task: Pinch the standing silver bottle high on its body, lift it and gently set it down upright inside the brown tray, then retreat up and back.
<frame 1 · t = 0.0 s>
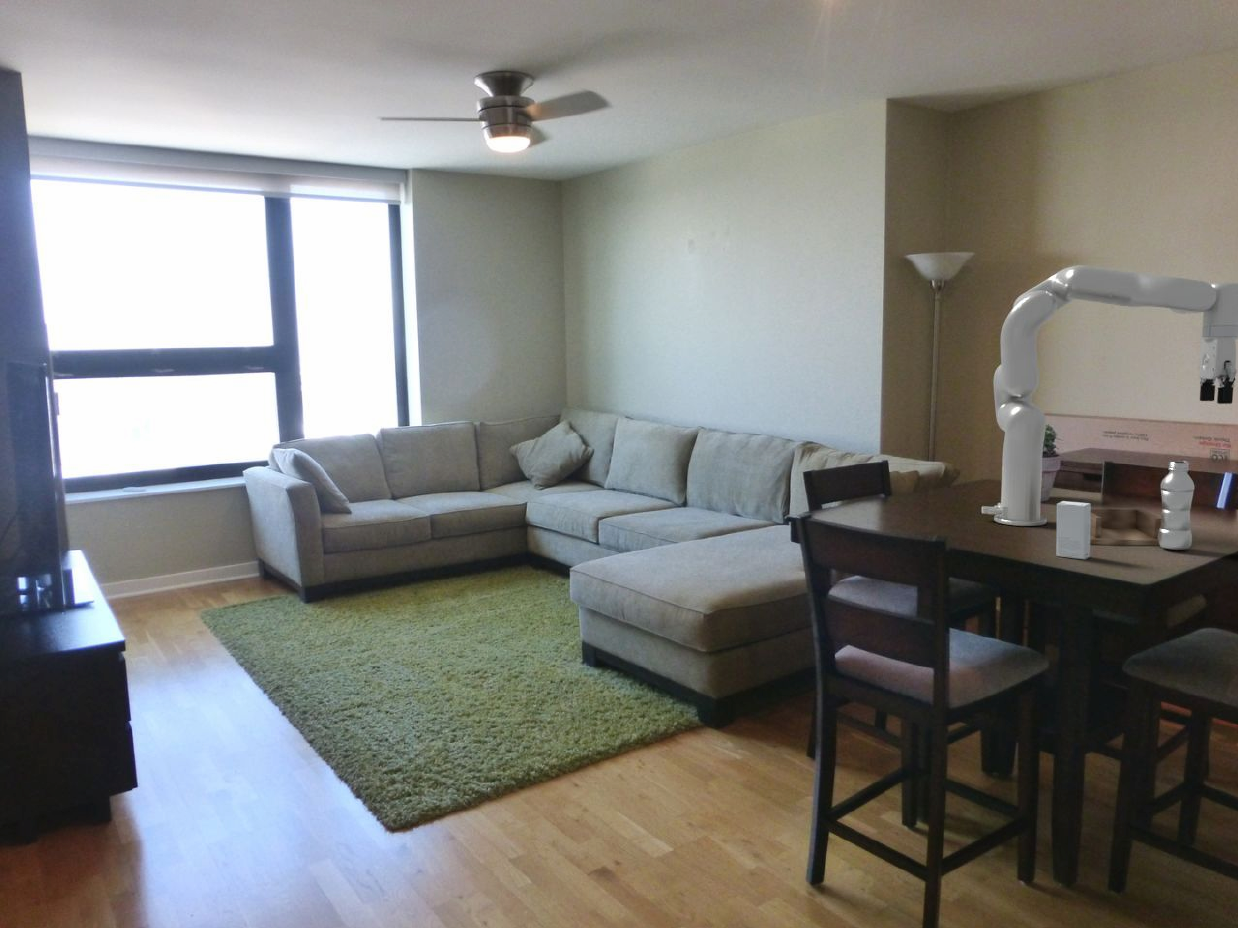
hand: (1215, 402, 230), 31 cm above the table, fingers open, 9 cm apart
silver bottle: (1173, 550, 208), on the table
skincare box: (1072, 557, 204), on the table
brown tray: (1117, 537, 221), on the table
potted plant: (1033, 499, 275), on the table
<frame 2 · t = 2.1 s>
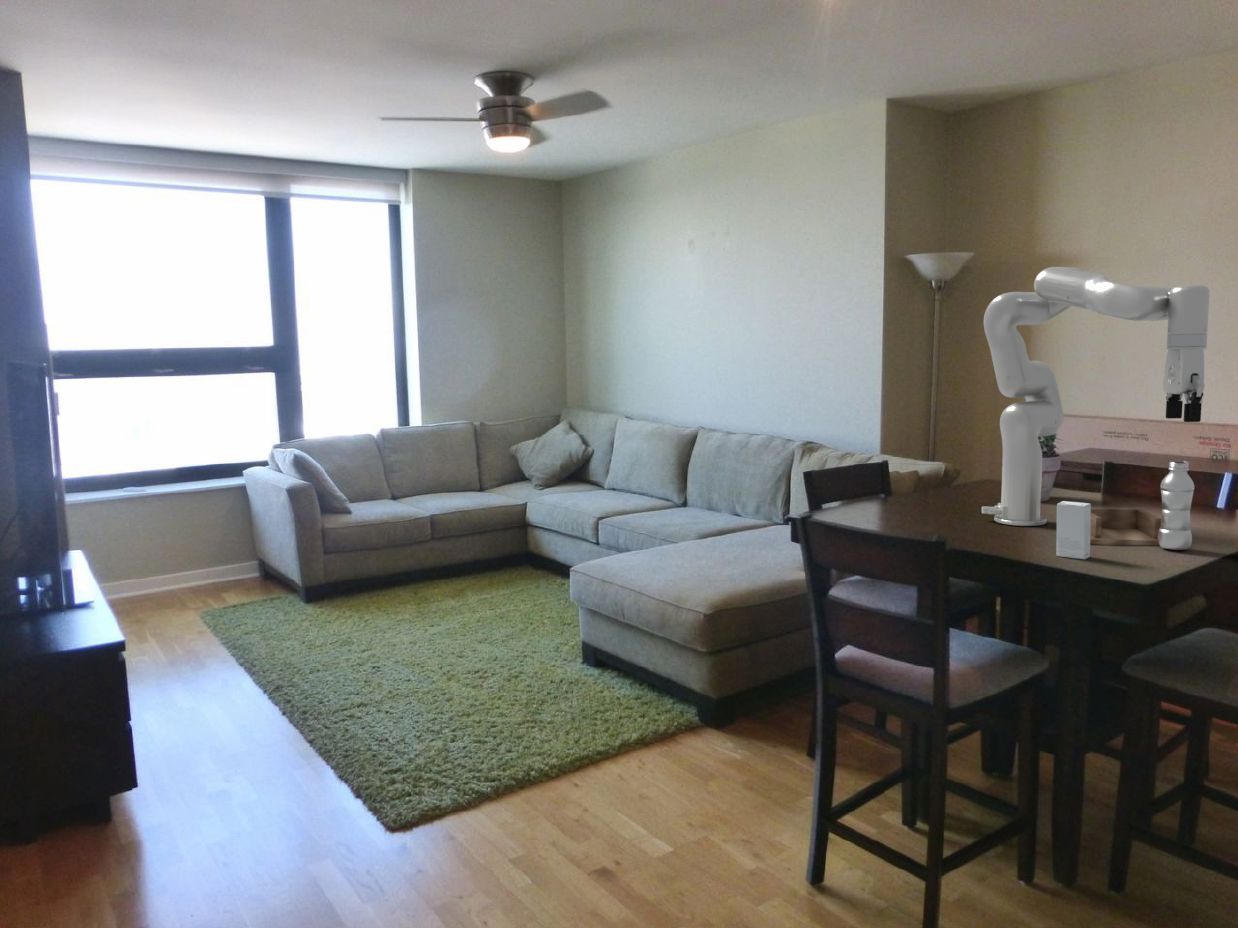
hand: (1182, 420, 204), 29 cm above the table, fingers open, 9 cm apart
nothing on the table moved.
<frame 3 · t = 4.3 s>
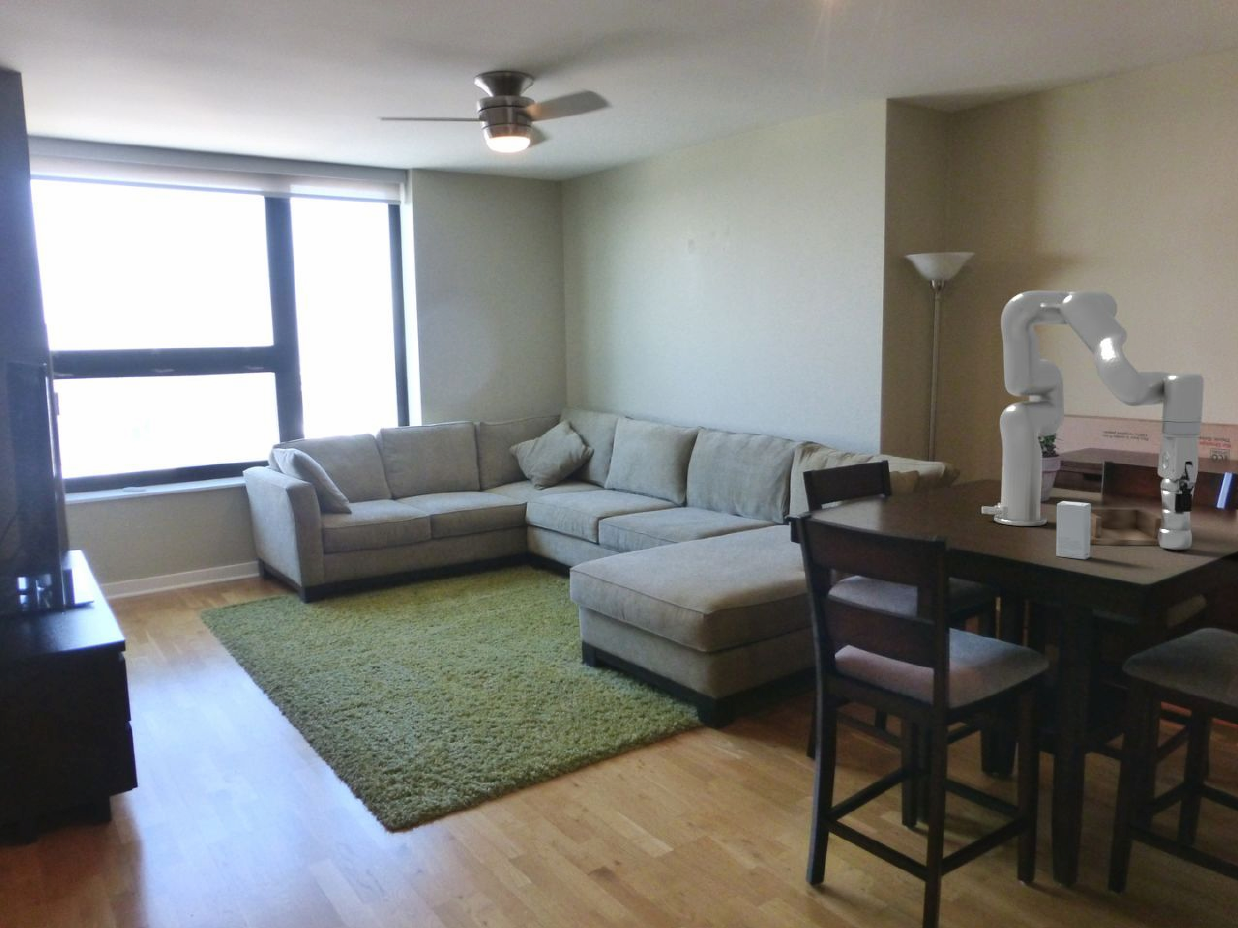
hand: (1176, 507, 207), 10 cm above the table, fingers closed on silver bottle, 6 cm apart
silver bottle: (1173, 550, 208), on the table, touching gripper
everything else where it was.
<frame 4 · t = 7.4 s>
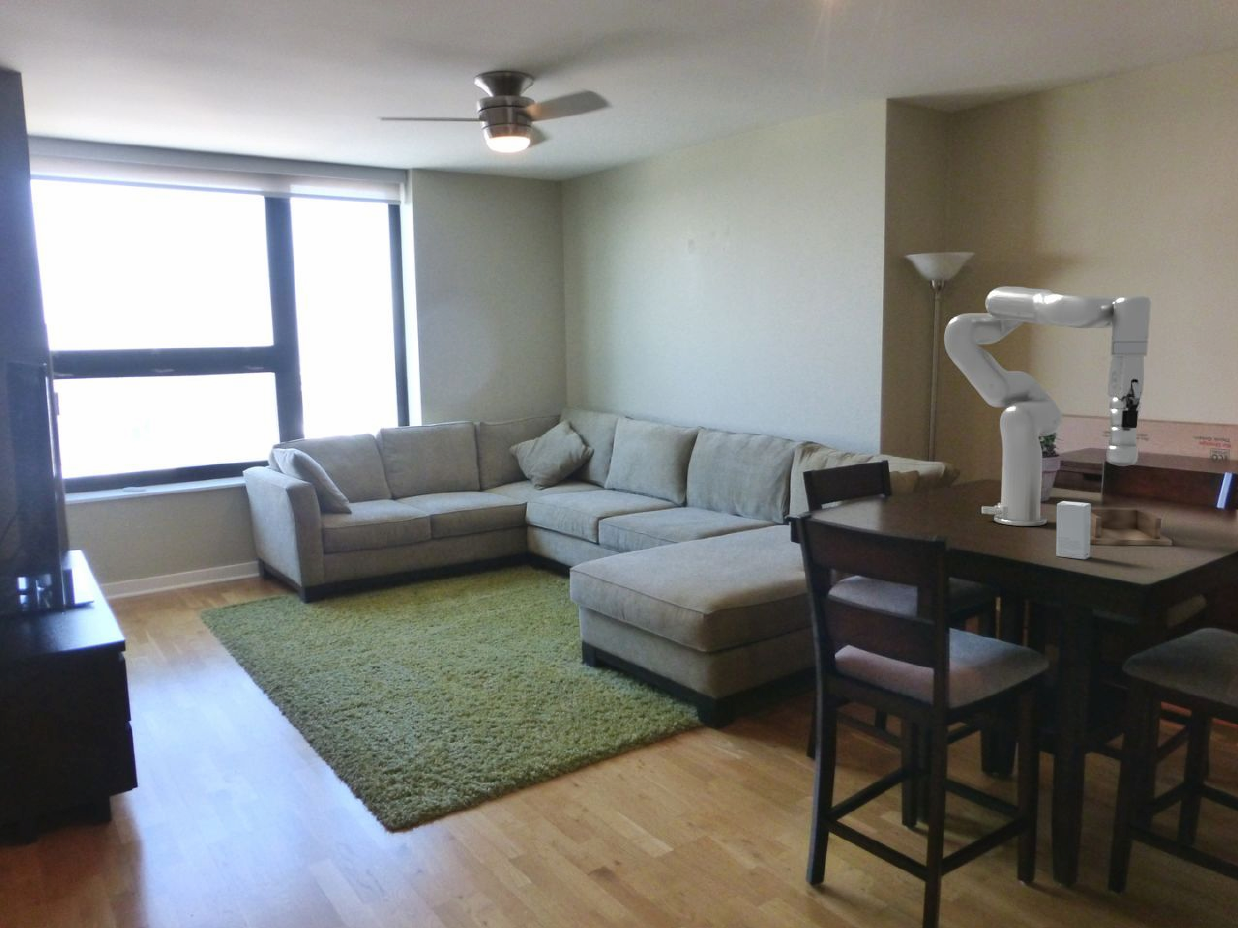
hand: (1123, 425, 217), 27 cm above the table, fingers closed on silver bottle, 6 cm apart
silver bottle: (1121, 466, 219), point 17 cm above the table, touching gripper
everything else where it was.
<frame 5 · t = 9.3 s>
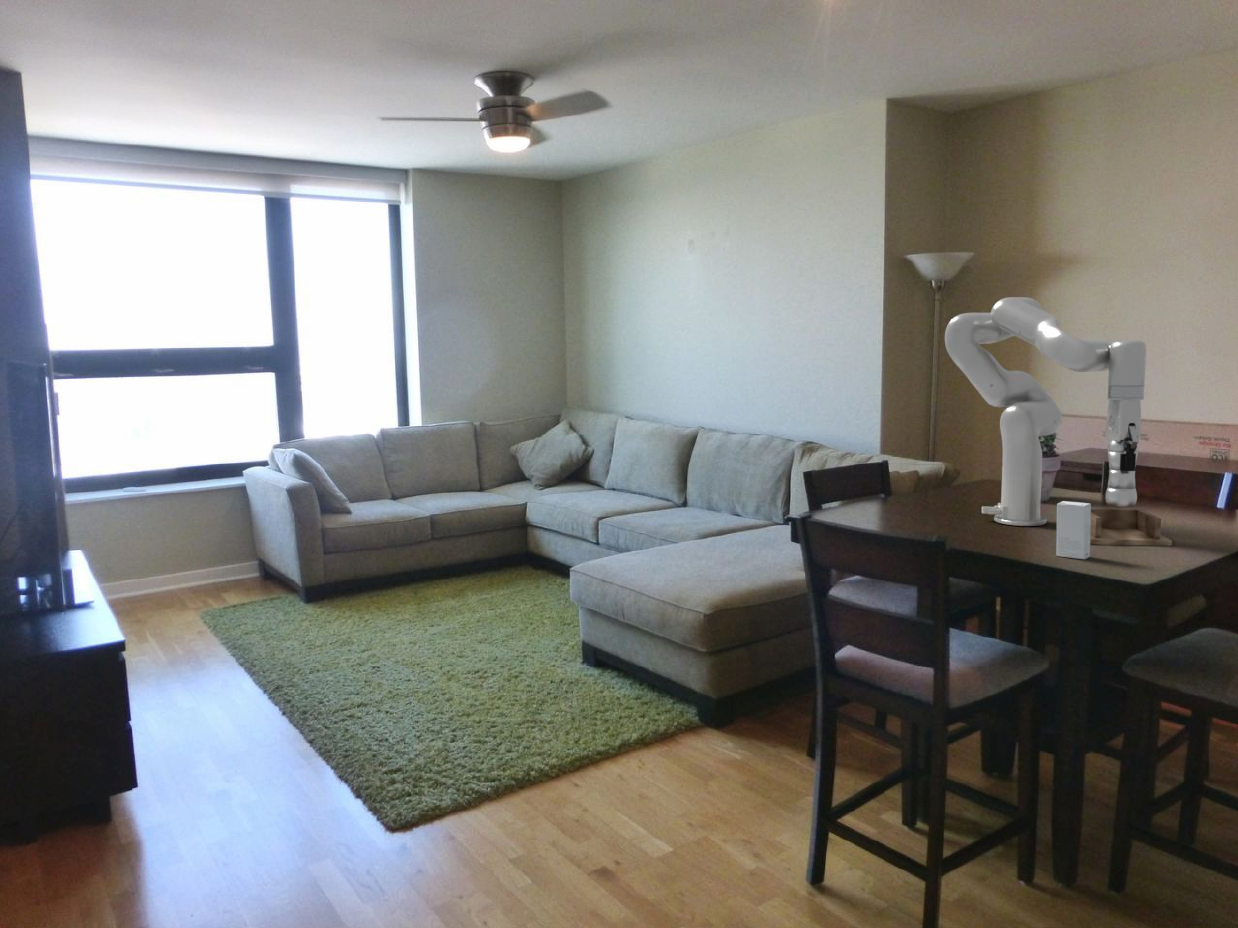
hand: (1122, 468, 219), 17 cm above the table, fingers closed on silver bottle, 6 cm apart
silver bottle: (1120, 508, 220), point 7 cm above the table, touching gripper
everything else where it was.
when the fingers open (13 cm above the table, at t = 10.7 s): silver bottle drops 2 cm, resting on brown tray.
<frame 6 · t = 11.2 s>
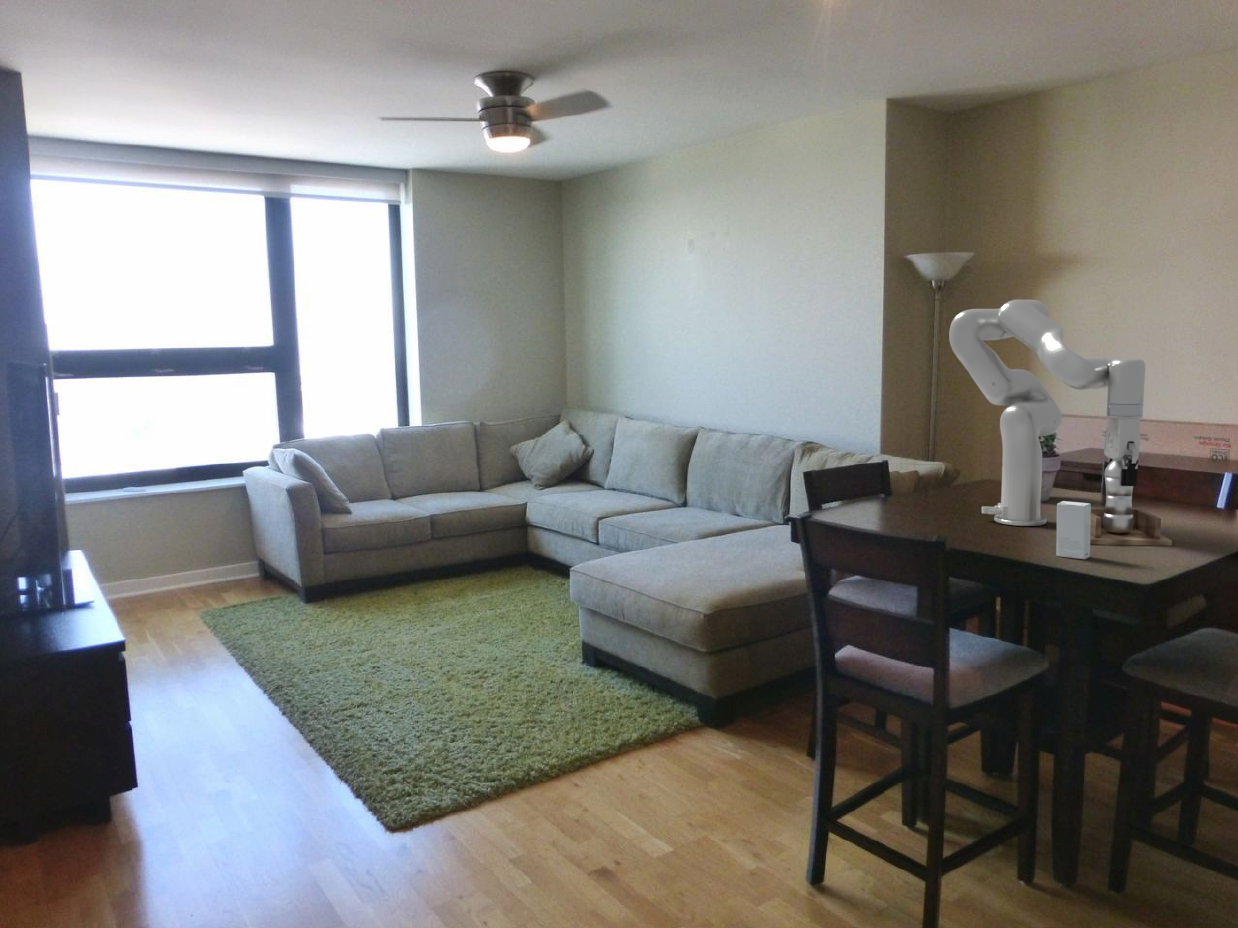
hand: (1121, 482, 219), 14 cm above the table, fingers open, 9 cm apart
silver bottle: (1117, 533, 221), point 1 cm above the table, touching brown tray
everything else where it was.
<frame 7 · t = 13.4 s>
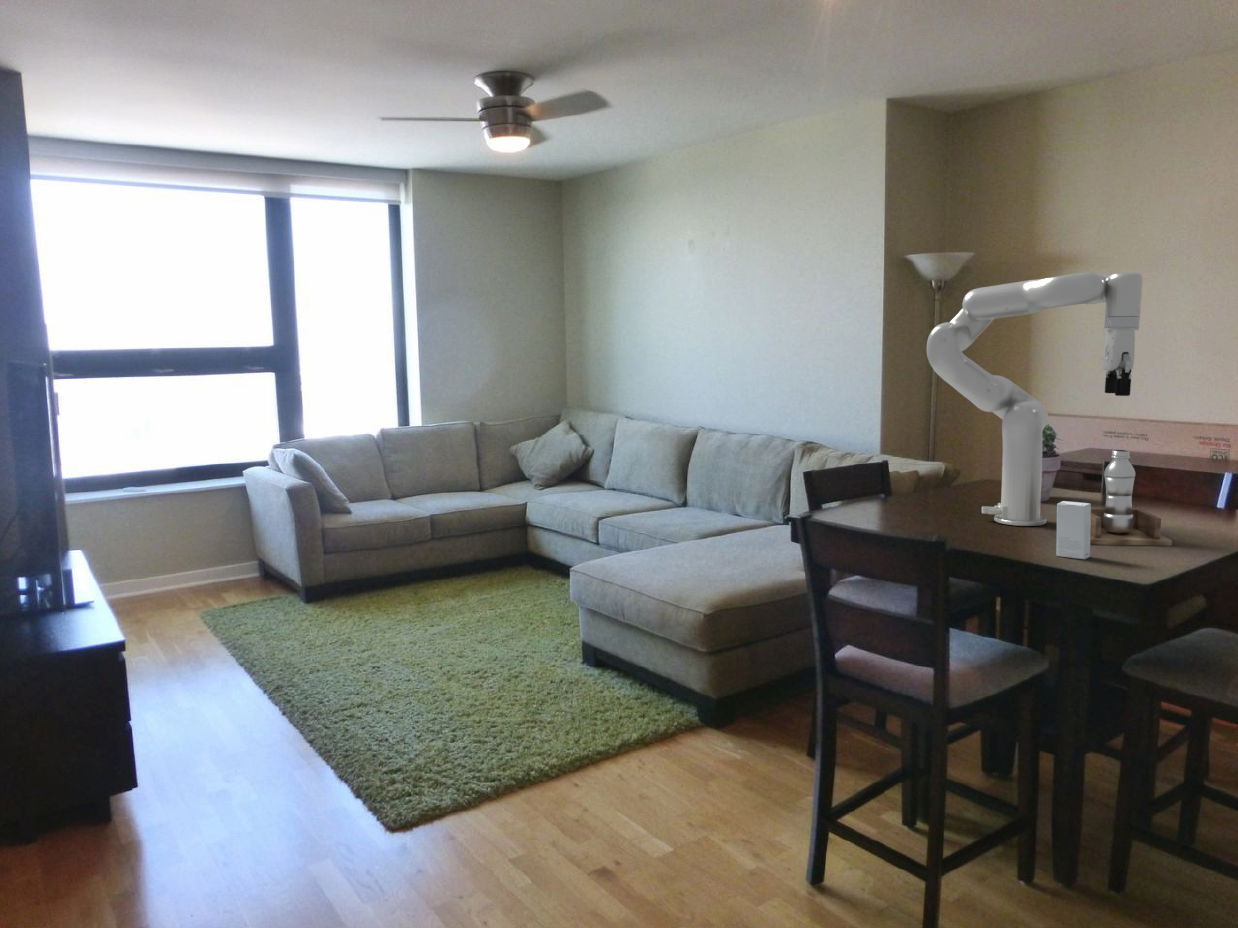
hand: (1116, 394, 227), 34 cm above the table, fingers open, 9 cm apart
nothing on the table moved.
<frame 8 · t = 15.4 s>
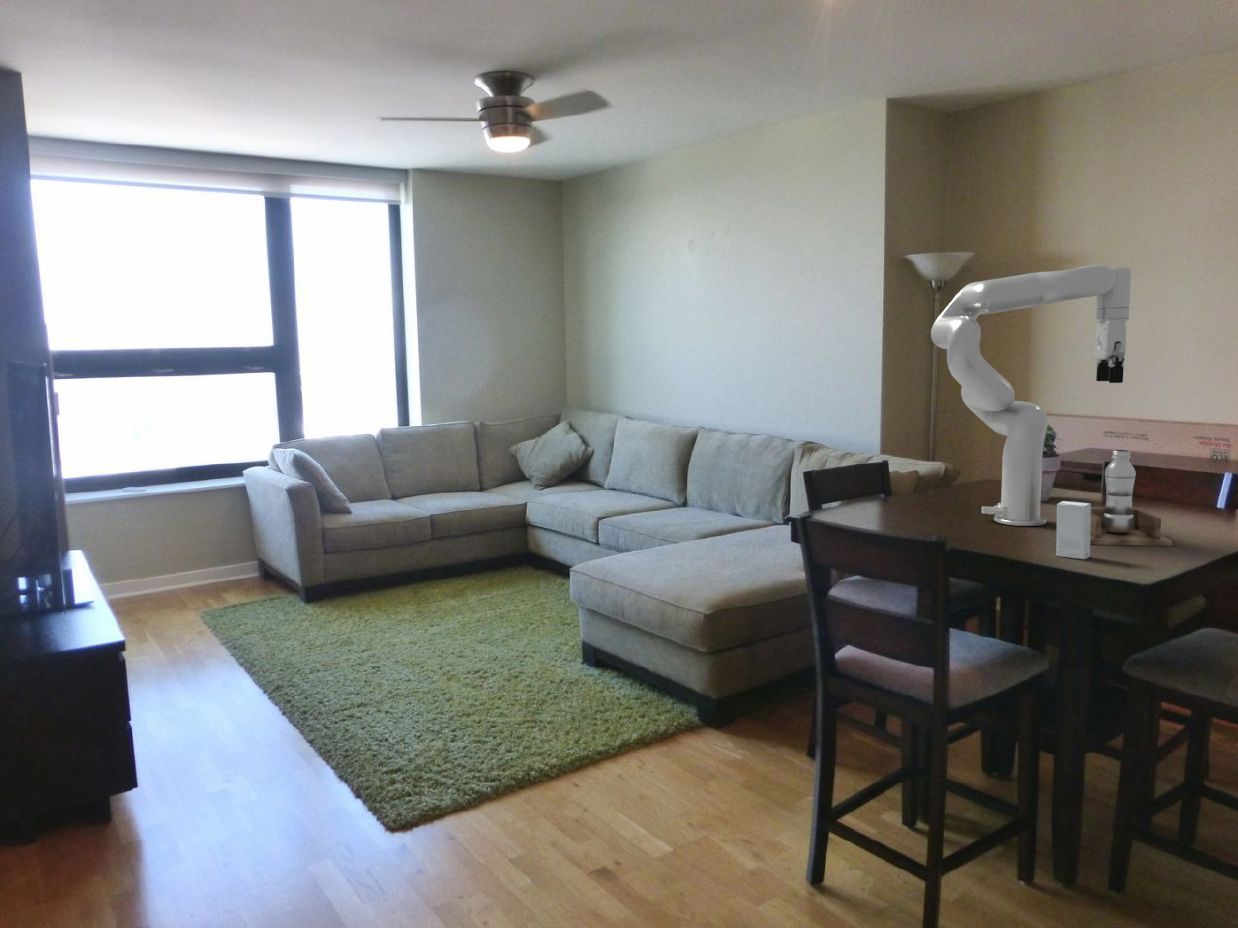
hand: (1109, 382, 239), 36 cm above the table, fingers open, 9 cm apart
nothing on the table moved.
at the end: silver bottle inside the target area on the brown tray (0.4 cm from its centre), point 1.0 cm above the brown tray's base; silver bottle tilted 0°; the gripper is holding nothing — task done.
